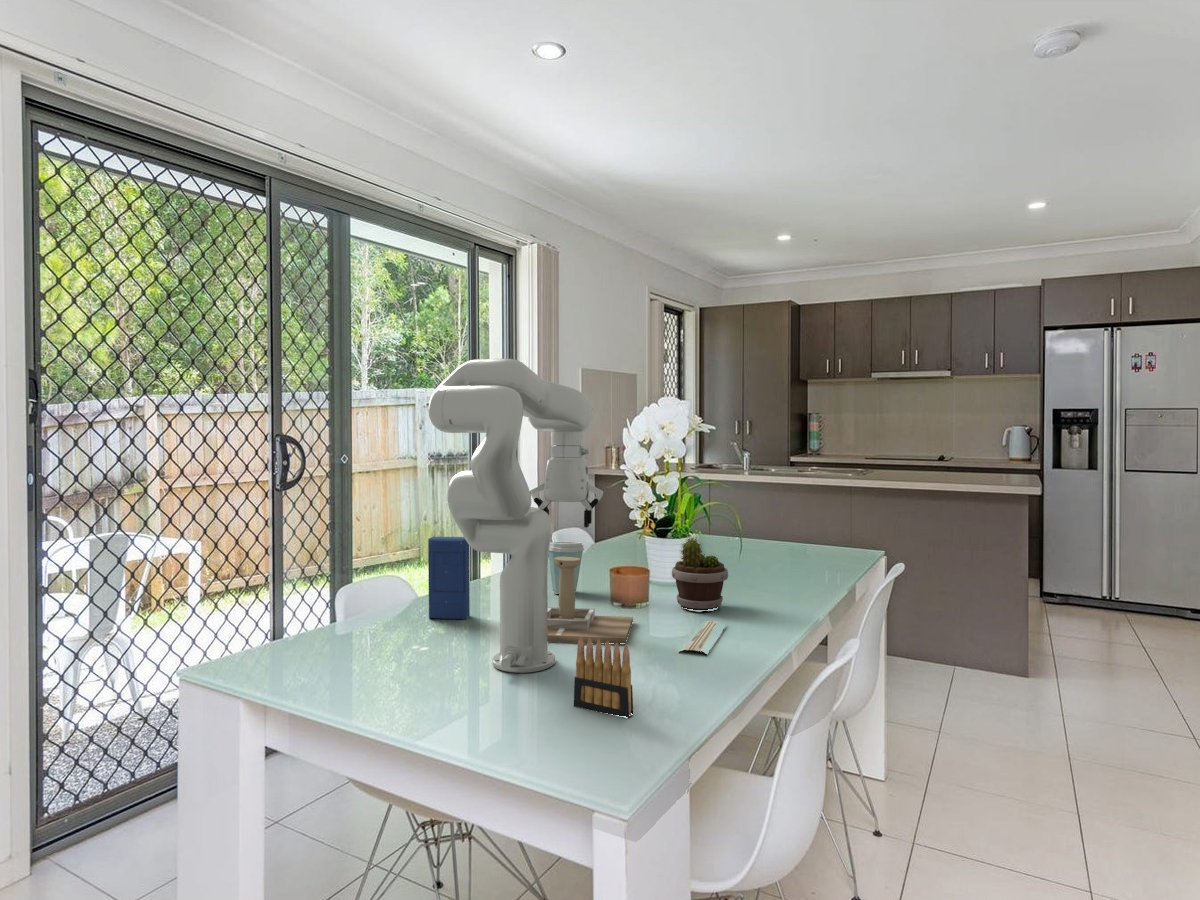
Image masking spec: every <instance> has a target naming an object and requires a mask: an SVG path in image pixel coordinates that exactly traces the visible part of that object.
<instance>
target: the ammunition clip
mask: <svg viewBox="0 0 1200 900" xmlns="http://www.w3.org/2000/svg"><path fill="white" fill-rule="evenodd" d="M593 645H594V644H592V640H591V638H589V639H588V642H587V643H586V650H585V643H583V639H582V637H581V636H580V638H579V641H578V643H577V651H576V661H575V676H574V682H573V683H574V685H573V689H574V690H573V707H575V708H579V709H583V710H587V709H588V711H591V710H592V711H591V712H596V711H597V712H596V713H600V712H602V713H601V714H604V713H608V714H613V715H619V716H626V717H629V715H631V713H632V714H633V715H634V697H633V696H634V695H633V694H634V692H633V684H632V671H631V670H632V669H631V661H630V659H631V657H630V650H629V646H628V644H627V643H626V644H625V645H623V646H624V647H623V650H622V651H623V652H622V662H621V650H620V645H618V643H617V642H616V644H615V645H614V649H613V654H612V649H611V644H609V641H607V642H606V644H604V645H605V646H604V652H603V646H602V644H601V642H600V640H599V639H598V641H597V644H595V651H594V646H593ZM585 651H586V653H585ZM603 653H604V654H603ZM594 654H595V655H594ZM603 655H604V656H603ZM612 655H613V656H612ZM612 657H613V659H612ZM608 714H607V715H608ZM613 715H612V716H613Z"/></svg>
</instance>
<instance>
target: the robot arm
mask: <svg viewBox="0 0 1200 900" xmlns="http://www.w3.org/2000/svg"><path fill="white" fill-rule="evenodd" d="M523 417H525V418H528V420H529V423H530V424H531V426H532V427H533V428H534V430H536V431H539V432H545V433H550V458H549V459H547V461H546V462H547V463H546V467H545V476H544V482H543V483H542V484H540V485H539V486H537V487H535V488H533V489H531V490H530V488H529V485H528V483H527V480H526V478H525V476H524V472H523V471H522V468H521V466H520V463H519V461H518V456H517V451H518V449H517V448H518V444H519V441H520V434H521V430H522V424H523ZM428 418H429V420H430V422H431V424H432V425H433V426H434V427H435V429H436V430H438V431H440V432H443V433H448V434H485V436H484V438H483V440H482V442H480V444H479V445H478V446H477V447H476V449H475V450H474V452H473V454H472V456H471V458H470V464H469V465H470V466H469V467H470V469H466V470H461V471H459V472H457V473H456V474H455V475H453V477H452V478H451V480H450V481H449V484H448V485H447V496H446V497H447V506H448V509H449V512H450V514H451V516H452V518H453V520H454V521H455V523H456V526H457V527H458V529H459V530H460V532H461V534H462V537H464V538H465V539H466V541H467V543H468V544H469V548H471V549H473V550H474V551H475V552H476V551H477V552H480V553H488V554H489V553H491V554H493V553H495V554H506V555H511V558H510V559H509V561H508V562H507V563H506V564H505V566H504V567H503V569H502V571H501V574H500V576H499V577H500V578H499V622H500V623H499V636H500V639H499V646H500V649H499V652H497V653H496V654H495V655H494V656H492V665H493V668H496V669H498V670H500V671H503V672H508V673H517V674H518V673H526V674H527V673H533V672H535V673H536V672H541V671H544V670H546V669H549V668H551V667H552V666H554V665H555V663H556V655H555V654H554V653H553V652H551V651H550V650H549V649H548V646H549V644H548V643H549V642H548V607H549V606H548V597H549V596H548V588H549V587H548V573H549V571H548V568H549V548H550V542H552V541H551V539H552V534H553V522H552V518H551V516H550V509H549V508H548V507H549V506H550V504H551V503H552V502H553V503H559V502H560V503H581V504H582V505H583V506H584V508H585V509H584V511H583V527H584V528H586V529H587V528H588V527H589V526H590V525H591V524H592V522H593V521H592V512H593V511H592V510H593V508H595V506H597V505H598V504H599V503H600V501H601V499H602V497H603V496H604V495H603V494H604V491H603V490H602V489H599V488H597V487H596V486H594V485H593V484H590V482H589V481H590V479H589V471H588V469H589V468H588V463H587V459H583V457H584V456H586V455H589V451H590V450H589V448H585V447H584V446H583V444H584V440H583V439H584V437H583V436H584V435H583V433H584V432H586V431H587V430H589V429H590V428H591V426H592V424H593V421H594V418H595V417H594V410H593V406H592V403H591V401H590V400H589V399H588V397H587V396H586V395H585V394H584V393H583V392H581V391H580V390H578V389H576V388H574V387H573V388H572V387H570V386H566V385H564V384H559V383H556V382H553V381H549V380H546V379H542V378H541V377H540V376H539V375H538V374H536V372H534V371H533V370H532V369H531V368H530V367H528V366H527V365H526V364H525V363H524V362H522V361H520V360H517V359H513V358H488V359H487V358H486V359H485V358H484V359H470V360H467V361H466V362H464V363H462V364H461V365H459V366H458V367H457V368H455V369H454V370H453V371H452V372H451V373H450V374H449V376H447V377H446V378H445V379H444V380H443V381H442V382H440V384H439V385H438V386H437V387H436V388H435V390H434V391H433V393H432V395H431V396H430V398H429V403H428ZM542 491H544V492H543V495H544V500H542V499H541V498H540V497H539V493H540V492H542ZM590 492H591V493H594V494H595V496H594V498H593V499H592V500H591V501H590V499H589V497H590ZM532 499H533V502H534V503H535V504H536V505H537V506H538V507H539V508H538V507H535V506H532Z"/></svg>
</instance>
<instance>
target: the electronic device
mask: <svg viewBox="0 0 1200 900" xmlns="http://www.w3.org/2000/svg"><path fill="white" fill-rule="evenodd" d="M427 541H428V546H427V547H428V548H427V550H428V554H427V555H428V556H427V557H428V558H427V559H428V561H427V562H428V619H429V618H434V620H463V619H465V620H466V619H468V618H469V617H470V615H471V613H470V605H471V604H470V545H469V544H468V543H467V541H466V539H465V538H464V536H431V537H429V538H427Z"/></svg>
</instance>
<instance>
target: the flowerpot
mask: <svg viewBox="0 0 1200 900" xmlns="http://www.w3.org/2000/svg"><path fill="white" fill-rule="evenodd" d="M690 535H691V536H690V537H686V538H687V539H685V541H683V543H680V544H681V545H680V546H681V549H680V552H681V556H680V557H679V558H680V560H679V561H677V562H676V563H675V566H674V567H672V568H671V569H672V570H671V577H672V578H673V579H674V580H675V584H676V588H677V591H678V594H677V595H676V602H677V604H678V605H680V608H681V607H683V608H687V609H693V610H708V609H713V608H717V607H720V606H721V605H722V602H723V600H724V597H723V595H722V591H723V587H724V581H727V580H728V577H729V571H728V568H726V567H725V564H724V563H723V562H721V561H719V557H718V556H716V555H715V553H712V552H711V553H710V554H709V555H706V553H703V552H704V550H703V549H702V547H703V545H702V543H700V541H699V540H697V538H698V537H696V536H693V535H692V534H690Z"/></svg>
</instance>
